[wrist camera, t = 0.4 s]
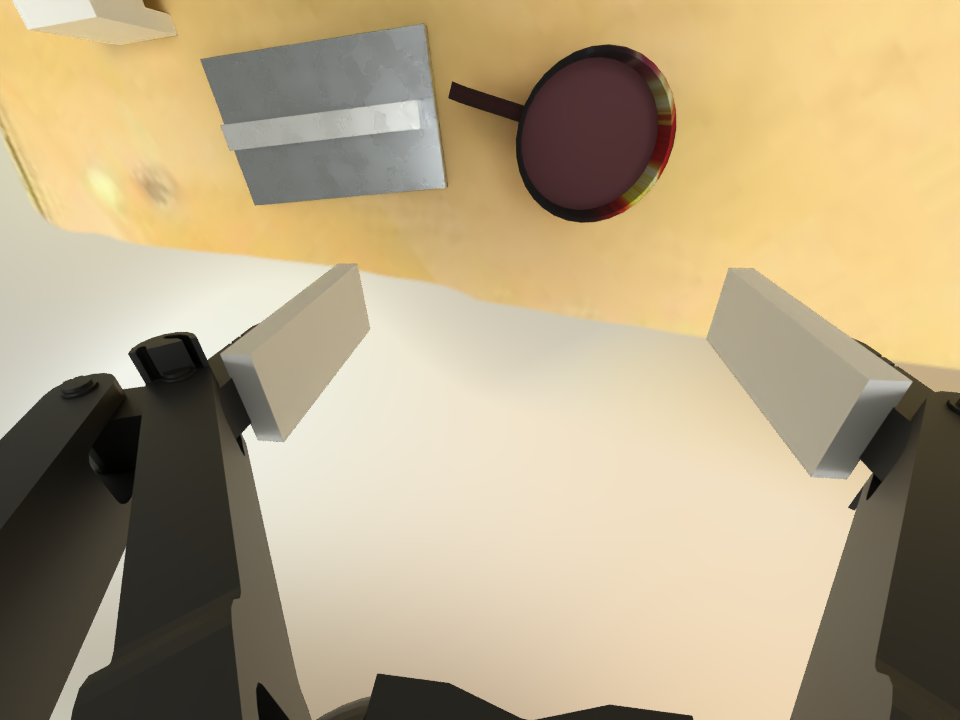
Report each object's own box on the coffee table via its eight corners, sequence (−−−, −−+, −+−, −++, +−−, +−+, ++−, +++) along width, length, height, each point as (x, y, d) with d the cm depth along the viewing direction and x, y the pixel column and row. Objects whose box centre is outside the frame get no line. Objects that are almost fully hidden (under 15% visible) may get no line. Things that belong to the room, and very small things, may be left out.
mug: (466, 90, 34) (437, 79, 24) (635, 54, 31) (683, 24, 21) (484, 207, 39) (466, 240, 29) (632, 184, 36) (669, 211, 26)
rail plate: (208, 60, 35) (182, 56, 32) (426, 26, 32) (417, 18, 29) (260, 203, 41) (242, 209, 39) (447, 186, 38) (441, 191, 35)
